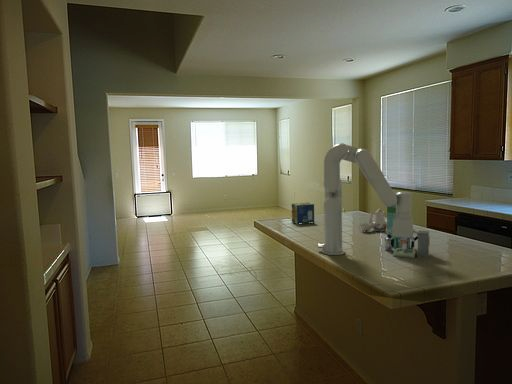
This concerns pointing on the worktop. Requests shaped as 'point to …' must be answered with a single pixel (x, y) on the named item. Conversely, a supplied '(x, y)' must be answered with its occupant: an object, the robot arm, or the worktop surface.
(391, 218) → the milk carton
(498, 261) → the worktop surface
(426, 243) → the block
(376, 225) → the chinaware
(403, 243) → the copper lidded jar
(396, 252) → the tray
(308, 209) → the protein box
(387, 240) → the clear glass jar
